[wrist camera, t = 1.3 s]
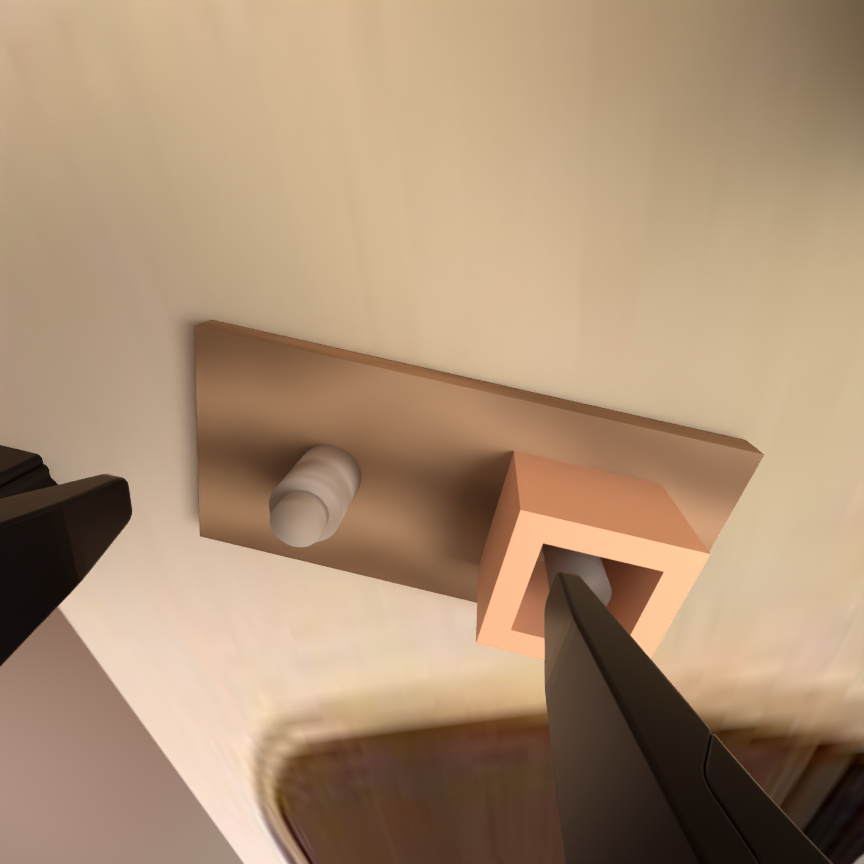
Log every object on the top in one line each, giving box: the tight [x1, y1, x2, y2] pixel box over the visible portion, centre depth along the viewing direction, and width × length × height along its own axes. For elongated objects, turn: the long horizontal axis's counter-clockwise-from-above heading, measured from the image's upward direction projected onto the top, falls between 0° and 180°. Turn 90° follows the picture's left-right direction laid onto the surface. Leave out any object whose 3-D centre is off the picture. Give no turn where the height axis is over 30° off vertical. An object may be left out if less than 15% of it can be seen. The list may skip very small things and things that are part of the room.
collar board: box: [194, 320, 764, 606], centre depth 21 cm, size 12×26×6 cm, turn 79°
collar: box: [476, 451, 710, 660], centre depth 20 cm, size 7×7×5 cm
